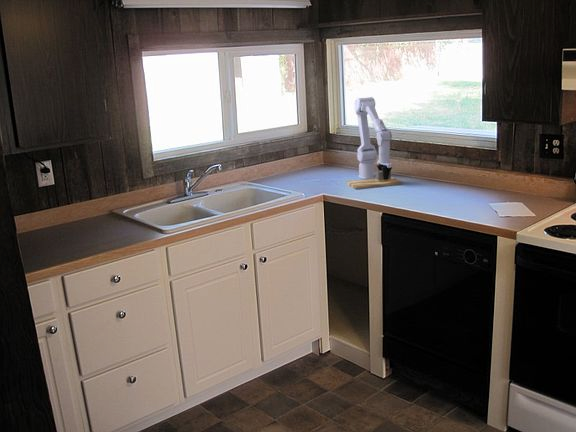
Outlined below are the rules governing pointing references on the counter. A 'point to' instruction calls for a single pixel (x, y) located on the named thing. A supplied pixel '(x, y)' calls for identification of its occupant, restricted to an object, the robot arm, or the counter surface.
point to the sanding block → (381, 176)
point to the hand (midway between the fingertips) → (384, 178)
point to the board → (373, 183)
